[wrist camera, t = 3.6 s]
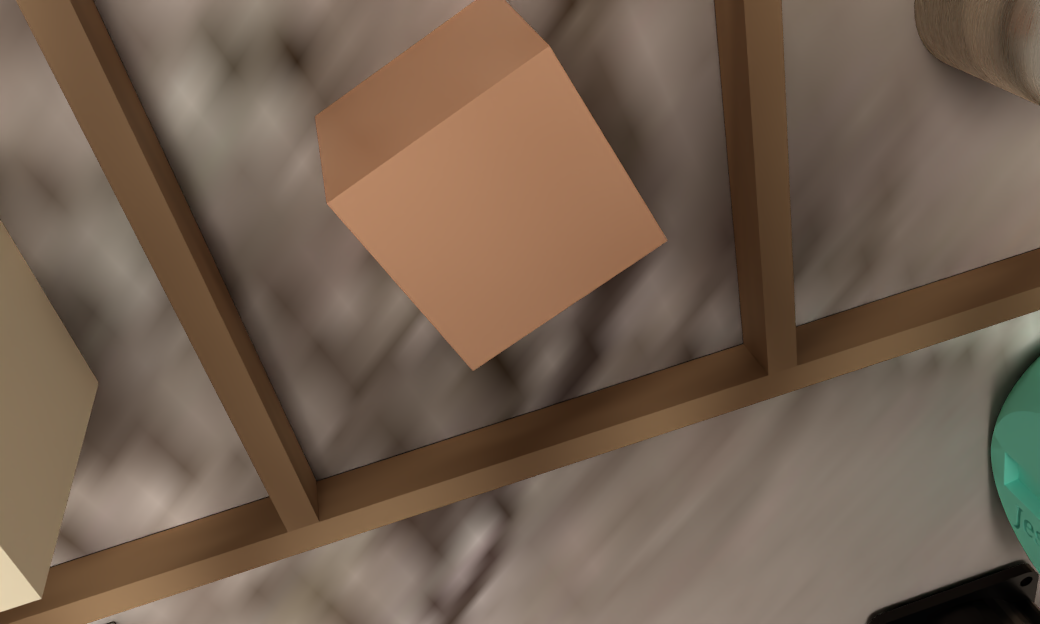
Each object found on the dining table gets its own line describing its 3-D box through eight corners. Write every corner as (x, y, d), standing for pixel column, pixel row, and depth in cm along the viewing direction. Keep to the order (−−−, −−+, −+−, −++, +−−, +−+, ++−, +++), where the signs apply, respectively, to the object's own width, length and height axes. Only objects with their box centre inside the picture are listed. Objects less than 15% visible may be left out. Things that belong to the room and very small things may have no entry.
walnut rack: (1373, -604, 17) (1463, -632, 15) (1180, 225, 26) (1226, 248, 25) (-963, -38, 13) (-1090, -15, 12) (-194, 672, 23) (-220, 724, 22)
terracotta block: (491, -14, 18) (549, 45, 15) (595, 153, 21) (667, 240, 17) (314, 115, 19) (327, 203, 15) (436, 263, 21) (473, 371, 18)
